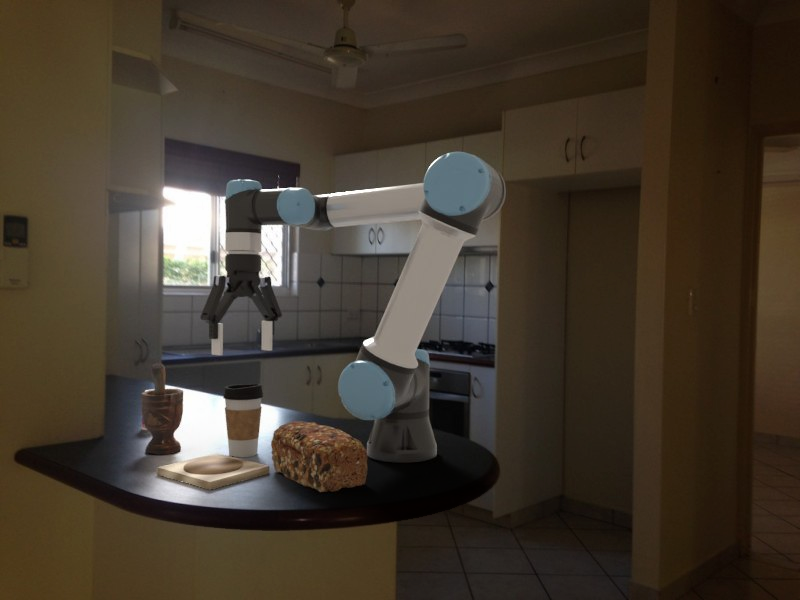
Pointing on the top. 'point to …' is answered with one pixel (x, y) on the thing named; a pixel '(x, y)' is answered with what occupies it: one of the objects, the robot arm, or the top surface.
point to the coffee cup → (243, 418)
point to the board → (213, 470)
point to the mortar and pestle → (162, 413)
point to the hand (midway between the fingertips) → (242, 352)
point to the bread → (319, 456)
